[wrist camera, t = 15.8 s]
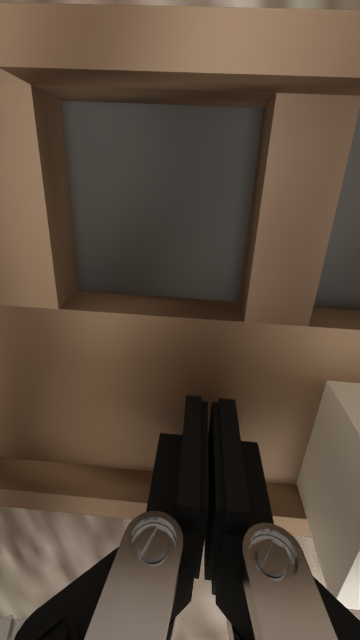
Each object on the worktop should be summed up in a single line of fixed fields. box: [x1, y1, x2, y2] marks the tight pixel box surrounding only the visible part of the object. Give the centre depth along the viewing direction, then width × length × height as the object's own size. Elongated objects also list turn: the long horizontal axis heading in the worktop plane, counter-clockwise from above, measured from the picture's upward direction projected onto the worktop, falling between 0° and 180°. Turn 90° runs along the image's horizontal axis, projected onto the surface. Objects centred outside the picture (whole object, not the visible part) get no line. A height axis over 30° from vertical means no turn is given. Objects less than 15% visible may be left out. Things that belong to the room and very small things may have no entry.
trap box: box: [0, 3, 360, 538], centre depth 10 cm, size 22×15×4 cm
